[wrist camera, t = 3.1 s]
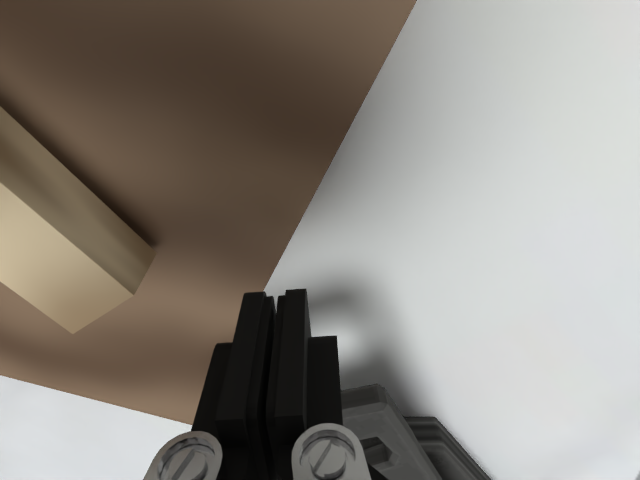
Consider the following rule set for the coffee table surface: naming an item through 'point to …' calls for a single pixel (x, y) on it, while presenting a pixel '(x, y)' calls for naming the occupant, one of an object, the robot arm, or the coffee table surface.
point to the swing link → (61, 236)
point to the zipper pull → (404, 440)
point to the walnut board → (181, 164)
